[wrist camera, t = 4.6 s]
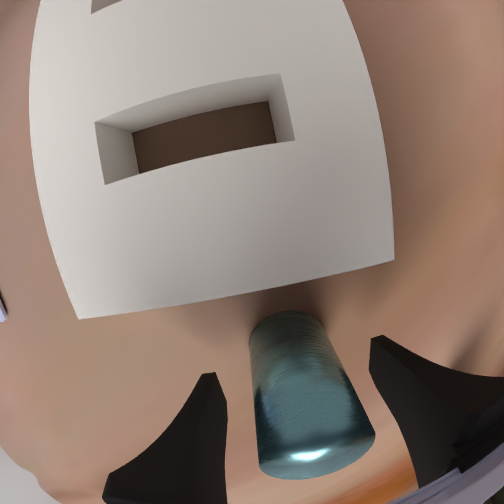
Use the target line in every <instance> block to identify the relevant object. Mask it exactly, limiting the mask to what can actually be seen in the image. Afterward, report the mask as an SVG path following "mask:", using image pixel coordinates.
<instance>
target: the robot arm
mask: <svg viewBox="0 0 504 504" xmlns="http://www.w3.org/2000/svg"><path fill="white" fill-rule="evenodd" d="M6 319H7V314H6V311H5V309H4V307H3V304H2V302H1V299H0V322H3V321H5V320H6ZM369 372H370V374H371V377H372V379H373V381H374V384H375V386H376V388H377V390H378V391H379V393H380V395H381V396H382V398H383V400H384V401H385V403H386V404H387V406H388V408H389V409H390V411H391V413H392V414H393V416H394V418H395V420H396V421H397V423H398V425H399V428H400V430H401V432H402V435H403V437H404V440H405V442H406V445H407V448H408V451H409V453H410V456H411V460H412V463H413V466H414V470H415V473H416V477H417V482H418V486H419V489H418V490H416V491H414V492H412V493H410V494H408V495H406V496H403V497H401V498H399V499H397V500H394V501H392V502H389V503H387V504H482V503H484V502H485V501H486V500H487V499H489V498H490V497H491V496H492V495H494V494H495V493H496V492H497V491H498V490H500V489H501V488H502V487H503V486H504V377H488V376H480V375H473V374H468V373H464V372H460V371H456V370H452V369H449V368H447V367H444V366H441V365H438V364H436V363H433V362H431V361H429V360H427V359H425V358H423V357H421V356H419V355H417V354H415V353H413V352H411V351H409V350H408V349H406V348H404V347H402V346H401V345H399V344H397V343H396V342H394V341H392V340H391V339H389V338H387V337H385V336H384V335H380V336H377V337H374V338H371V346H370V360H369ZM227 422H228V417H227V401H226V398H225V396H224V393H223V391H222V388H221V386H220V383H219V380H218V378H217V375H216V372H213V373H205V374H202V375H201V377H200V378H199V380H198V382H197V384H196V386H195V387H194V389H193V391H192V393H191V394H190V396H189V398H188V399H187V401H186V403H185V404H184V406H183V407H182V409H181V410H180V412H179V413H178V414H177V416H176V417H175V419H174V420H173V421H172V423H171V424H170V425H169V426H168V428H167V429H166V430H165V431H164V432H163V433H162V434H161V435H160V437H159V438H158V439H157V440H156V441H154V442H153V443H152V444H151V445H150V446H149V447H148V448H147V449H146V450H145V451H143V452H142V453H141V454H140V455H138V456H137V457H136V458H134V459H133V460H131V461H130V462H129V463H127V464H125V465H124V466H122V467H120V468H119V469H117V470H115V471H113V472H111V473H110V474H109V476H108V478H107V481H106V484H105V488H104V491H103V495H102V499H103V500H104V502H105V503H107V504H227V494H226V482H225V448H226V436H227ZM424 502H425V503H424Z"/></svg>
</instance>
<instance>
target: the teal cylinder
mask: <svg viewBox="0 0 504 504" xmlns="http://www.w3.org/2000/svg"><path fill="white" fill-rule="evenodd" d="M249 349H250V362H251V375H252V387H253V400H254V412H255V424H256V436H257V447H258V459H259V466H260V468H261V470H262V471H263V472H264V473H266V474H267V475H270V476H272V477H275V478H280V479H288V480H300V479H309V478H315V477H319V476H323V475H327V474H330V473H333V472H335V471H338V470H340V469H342V468H344V467H346V466H348V465H350V464H352V463H353V462H355V461H356V460H358V459H359V458H360V457H362V456H363V455H364V454H365V453H366V452H367V451H368V450H369V449H370V447H371V446H372V444H373V443H374V440H375V431H374V429H373V427H372V425H371V423H370V421H369V418H368V416H367V414H366V412H365V410H364V408H363V406H362V404H361V402H360V400H359V398H358V396H357V394H356V392H355V390H354V388H353V386H352V384H351V382H350V380H349V378H348V376H347V374H346V372H345V370H344V368H343V366H342V364H341V362H340V360H339V358H338V356H337V354H336V352H335V350H334V348H333V346H332V344H331V342H330V340H329V338H328V336H327V334H326V332H325V330H324V328H323V326H322V325H321V323H320V322H319V321H318V320H317V319H316V318H315V317H314V316H312V315H310V314H308V313H305V312H302V311H294V310H292V311H283V312H279V313H276V314H273V315H271V316H269V317H267V318H266V319H264V320H263V321H262V322H261V323H259V325H258V326H257V327H256V328H255V330H254V331H253V333H252V335H251V338H250V342H249Z"/></svg>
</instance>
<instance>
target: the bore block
mask: <svg viewBox="0 0 504 504" xmlns="http://www.w3.org/2000/svg"><path fill="white" fill-rule="evenodd" d="M265 101H268V103H269V108H270V112H271V117H272V122H273V127H274V132H275V137H276V142H277V143H274V144H268V145H262V146H256V147H250V148H245V149H239V150H234V151H229V152H224V153H220V154H215V155H210V156H206V157H202V158H197V159H193V160H189V161H185V162H181V163H177V164H173V165H170V166H166V167H162V168H159V169H155V170H152V171H148V172H145V173H141V174H139V169H138V164H137V159H136V153H135V148H134V142H133V136H132V133H134V132H137V131H140V130H143V129H146V128H149V127H153V126H156V125H159V124H163V123H166V122H169V121H173V120H177V119H180V118H184V117H188V116H192V115H196V114H200V113H205V112H209V111H214V110H219V109H224V108H229V107H234V106H239V105H245V104H251V103H258V102H265ZM29 115H30V134H31V145H32V155H33V163H34V170H35V177H36V183H37V188H38V194H39V199H40V203H41V208H42V212H43V217H44V221H45V225H46V229H47V232H48V236H49V240H50V243H51V246H52V250H53V253H54V256H55V259H56V262H57V265H58V268H59V271H60V274H61V277H62V280H63V282H64V285H65V288H66V290H67V293H68V295H69V298H70V300H71V303H72V305H73V308H74V310H75V312H76V314H77V317H78V319H85V318H93V317H101V316H109V315H116V314H124V313H131V312H138V311H144V310H151V309H158V308H164V307H170V306H176V305H183V304H189V303H194V302H200V301H206V300H212V299H217V298H223V297H228V296H234V295H239V294H244V293H249V292H255V291H260V290H265V289H270V288H275V287H280V286H284V285H289V284H294V283H299V282H303V281H308V280H313V279H317V278H322V277H326V276H331V275H335V274H339V273H344V272H348V271H352V270H356V269H361V268H365V267H369V266H373V265H377V264H381V263H385V262H389V261H393V260H394V230H393V213H392V200H391V190H390V180H389V172H388V165H387V158H386V151H385V145H384V139H383V133H382V128H381V123H380V118H379V113H378V109H377V104H376V100H375V96H374V92H373V88H372V84H371V80H370V77H369V73H368V70H367V66H366V63H365V60H364V56H363V53H362V50H361V47H360V44H359V41H358V38H357V36H356V33H355V30H354V27H353V25H352V22H351V20H350V17H349V15H348V12H347V10H346V7H345V5H344V3H343V0H122V1H121V0H41V2H40V6H39V10H38V15H37V20H36V25H35V31H34V38H33V45H32V54H31V65H30V83H29Z"/></svg>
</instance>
